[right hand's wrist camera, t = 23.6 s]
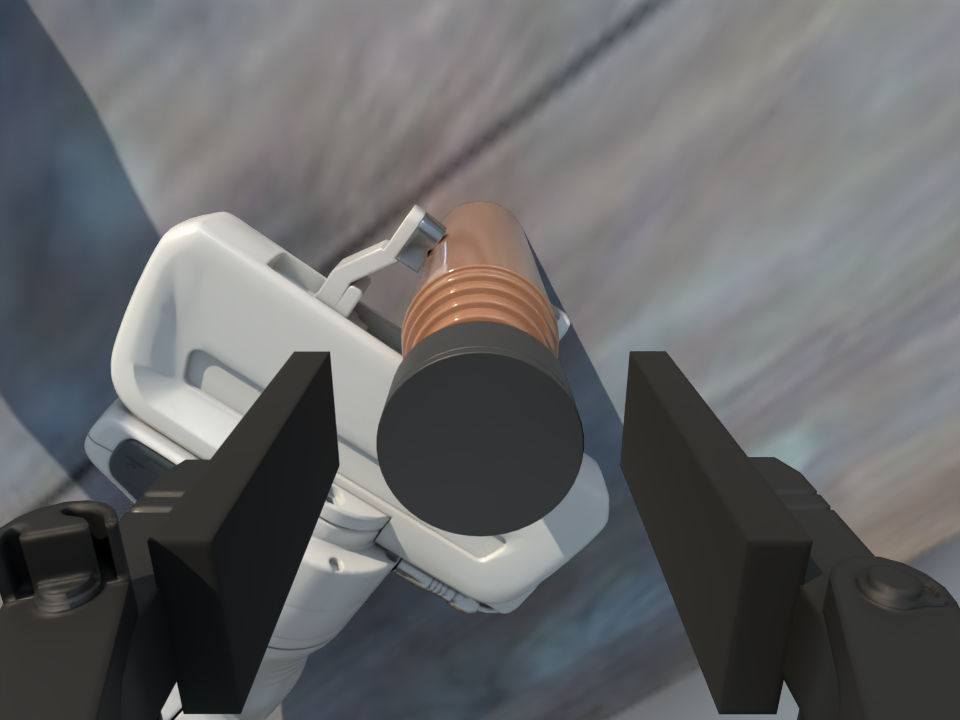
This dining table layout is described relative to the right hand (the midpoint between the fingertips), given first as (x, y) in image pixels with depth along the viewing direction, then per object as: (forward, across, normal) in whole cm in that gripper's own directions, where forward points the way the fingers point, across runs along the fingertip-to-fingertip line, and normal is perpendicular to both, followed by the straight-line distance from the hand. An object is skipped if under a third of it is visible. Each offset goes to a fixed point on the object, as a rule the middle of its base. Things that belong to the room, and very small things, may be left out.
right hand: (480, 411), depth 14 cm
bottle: (+18, 0, 0) cm, 18 cm away
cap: (-1, 0, 0) cm, 1 cm away
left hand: (+12, 0, -1) cm, 12 cm away
